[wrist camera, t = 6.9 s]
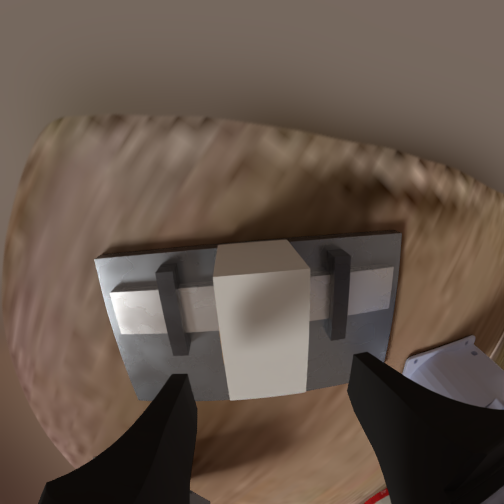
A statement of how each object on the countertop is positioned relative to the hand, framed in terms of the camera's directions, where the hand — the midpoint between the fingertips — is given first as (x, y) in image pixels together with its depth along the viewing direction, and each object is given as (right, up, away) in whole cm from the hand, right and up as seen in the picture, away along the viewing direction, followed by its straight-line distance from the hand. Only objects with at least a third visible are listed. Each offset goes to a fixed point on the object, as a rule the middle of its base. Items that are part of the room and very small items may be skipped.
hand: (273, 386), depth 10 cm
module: (-1, +2, +8) cm, 8 cm away
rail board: (0, 0, +9) cm, 9 cm away
